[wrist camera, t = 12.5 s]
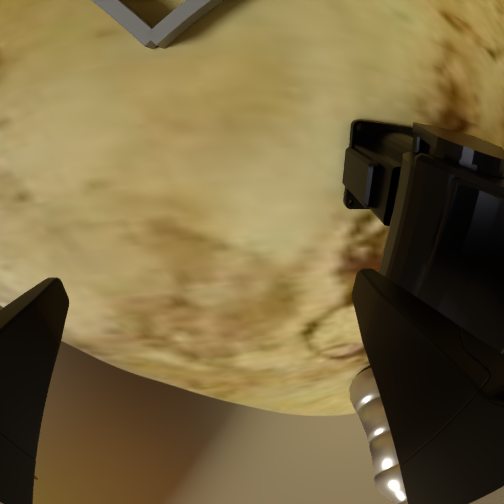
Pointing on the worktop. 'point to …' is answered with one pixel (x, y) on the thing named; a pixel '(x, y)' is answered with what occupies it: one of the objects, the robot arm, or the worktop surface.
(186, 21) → the grey u-shaped bar
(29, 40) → the worktop surface
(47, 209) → the worktop surface
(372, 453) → the plastic bottle
